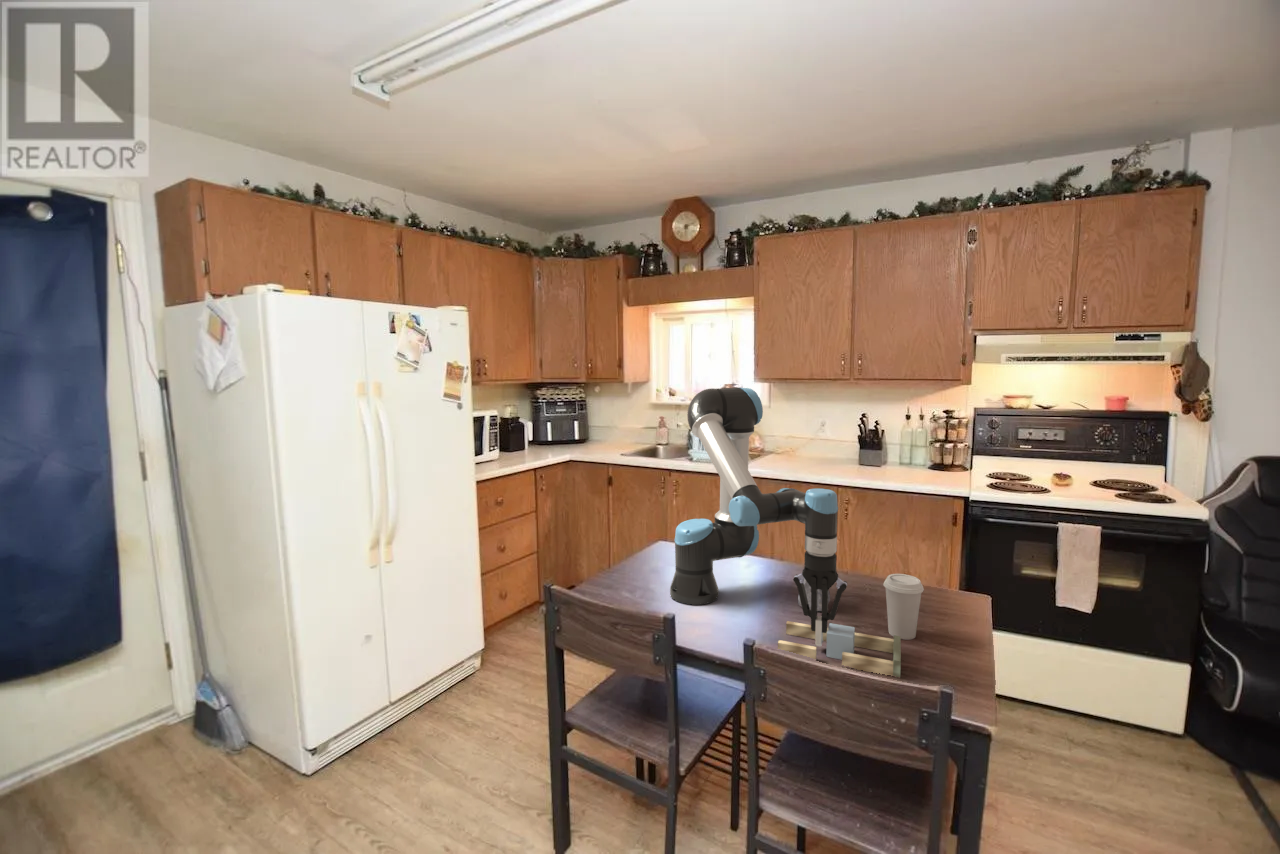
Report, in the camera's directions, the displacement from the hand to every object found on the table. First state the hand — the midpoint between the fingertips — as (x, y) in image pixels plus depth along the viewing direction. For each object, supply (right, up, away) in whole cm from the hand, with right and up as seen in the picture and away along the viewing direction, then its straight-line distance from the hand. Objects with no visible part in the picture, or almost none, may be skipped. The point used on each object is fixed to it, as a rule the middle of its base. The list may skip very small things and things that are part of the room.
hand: (818, 643), depth 140 cm
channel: (+4, -2, -1) cm, 4 cm away
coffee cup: (+25, -1, +8) cm, 26 cm away
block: (+5, -2, -2) cm, 5 cm away
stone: (+6, +1, +26) cm, 27 cm away
